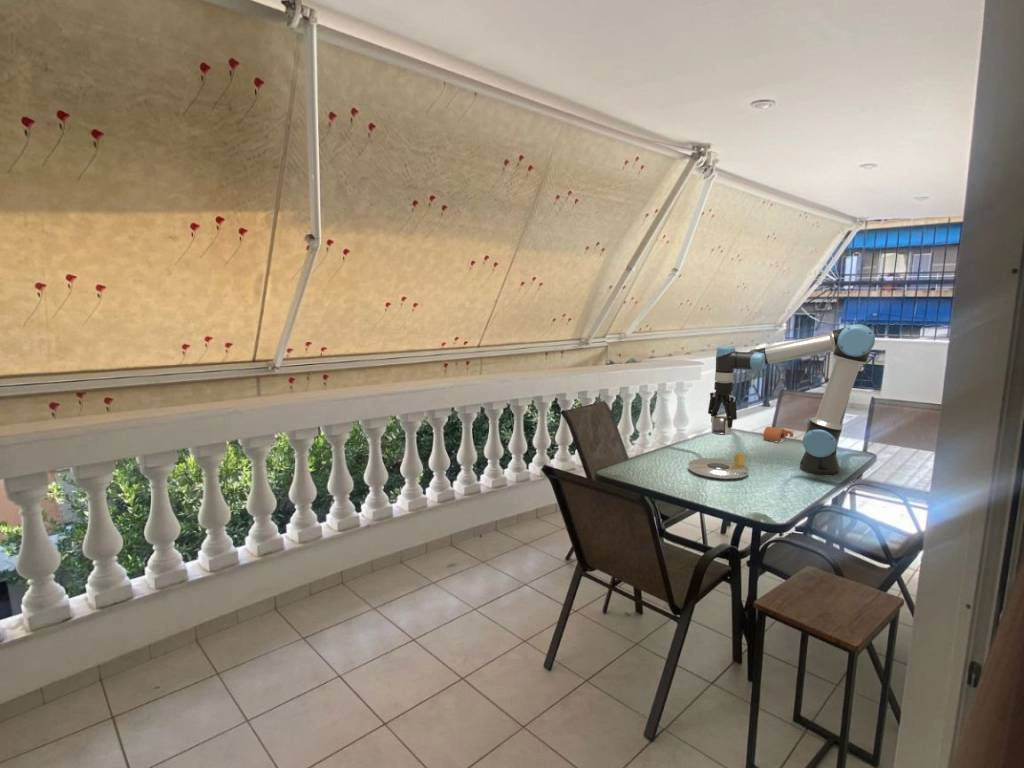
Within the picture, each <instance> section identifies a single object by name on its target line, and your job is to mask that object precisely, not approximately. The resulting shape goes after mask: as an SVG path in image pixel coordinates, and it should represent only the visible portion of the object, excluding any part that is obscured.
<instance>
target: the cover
mask: <svg viewBox="0 0 1024 768" xmlns="http://www.w3.org/2000/svg"><path fill="white" fill-rule="evenodd" d="M726 419H727V416H725V415H724V416H723V415H717V416H715V417H714V424H713V430H712V431H711V433H712V434H713V435H717V436H726V435H725V423H726Z"/></svg>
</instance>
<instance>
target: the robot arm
mask: <svg viewBox="0 0 1024 768" xmlns="http://www.w3.org/2000/svg"><path fill="white" fill-rule="evenodd" d="M875 343H876V336H875V334H874V331H873V330H872V329H871V327H869V326H868V325H866V324H863V323H853V324H849V325H847V326H844V327H841V328H838V329H834V330H831V331H830V333H827V334H821V335H817V336H813V337H808V338H804V339H798V340H795V341H793V340H792V341H790V342H785V343H780V344H776V345H775V344H774V345H770V346H765V347H760V348H754V349H751V350H749V351H736V347H735V346H728V345H723V346H718V347H717V348H716V356H715V375H714V381H715V382H714V387H713V389H714V390H715V392H710V393H709V397H710V398H709V404H708V411H707V414H709V415H710V416H711V417H710V418H711V419H710V422H711V432H712V430H713V424H714V417H715V416H719V414H718V413H719V410H720V407H721V404H722V406H723V407H724V410H725V415H726V416H725V417H727V419H726V423H725V435H724V436H730V435H732V428H733V421H735V420H737V419H738V418H737V417H738V416H737V415H738V414H737V399H738V398H737V396H732V392H733V390H734V383H733V382H734V372H735V370H747V371H748V370H749V371H763V370H764V368H765V366H766V365H770V364H771V365H772V364H775V363H776V364H777V363H781V362H786V361H791V360H797V359H802V358H807V357H813V356H817V355H823V354H828V353H832V356H833V357H834V359H835V362H834V363H833V366H832V370H831V373H830V376H829V378H828V380H827V381H828V382H827V384H826V388H825V389H824V393H823V395H822V398H821V401H820V404H819V407H818V410H817V411H816V415H815V416H814V417H810V418H808V419H807V422H806V423H807V424H806V425H807V427H806V431H805V434H804V435H803V437H802V444H803V445H802V446H803V448H804V449H805V451H804V454H803V456H802V458H801V460H800V462H799V469H800V470H801V471H802V472H804V473H808V474H812V475H817V476H825V475H832V476H836V475H835V474H837V475H839V474H840V473H839V472H841V468H840V465H839V461H838V457H837V453H838V452H837V451H838V441H839V438H840V435H841V433H842V430H843V427H842V425H841V420H842V418H843V414H844V412H845V410H846V405H847V404H848V400H849V398H850V396H851V393H852V389H853V388H854V384H855V382H856V379H857V376H858V373H859V371H860V367H862V366H863V365H865V364H867V362H868V359H869V357H870V354H871V350H872V349H873V348H874V345H875ZM838 473H839V474H838Z"/></svg>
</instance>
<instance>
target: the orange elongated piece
mask: <svg viewBox="0 0 1024 768" xmlns="http://www.w3.org/2000/svg"><path fill="white" fill-rule="evenodd" d="M788 434H789V435H788ZM788 436H789V438H792V437H794V432H793V431H792V430H788V429H787V430H786V429H783V428H779V427H775V426H765V429H764V431H763V437H762V438H763V441H766V440H771V441H778V442H780V441H781V438H785V439H786V438H787V437H788ZM771 441H770V442H771Z"/></svg>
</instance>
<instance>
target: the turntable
mask: <svg viewBox="0 0 1024 768" xmlns="http://www.w3.org/2000/svg"><path fill="white" fill-rule="evenodd" d="M688 469H689V471H691V472H693V473H694V474H696V475H700V476H702V475H703V476H702V477H705V476H707V477H706V478H709V477H712V478H711V479H715V478H721V479H720V480H733V479H741V478H745V477H747V476H748V475H749V468H748V466H746V454H745V453H743V452H735V453H734V460H730V459H724V458H708V457H706V458H697V459H693V460H691V461H689V462H688Z"/></svg>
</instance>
